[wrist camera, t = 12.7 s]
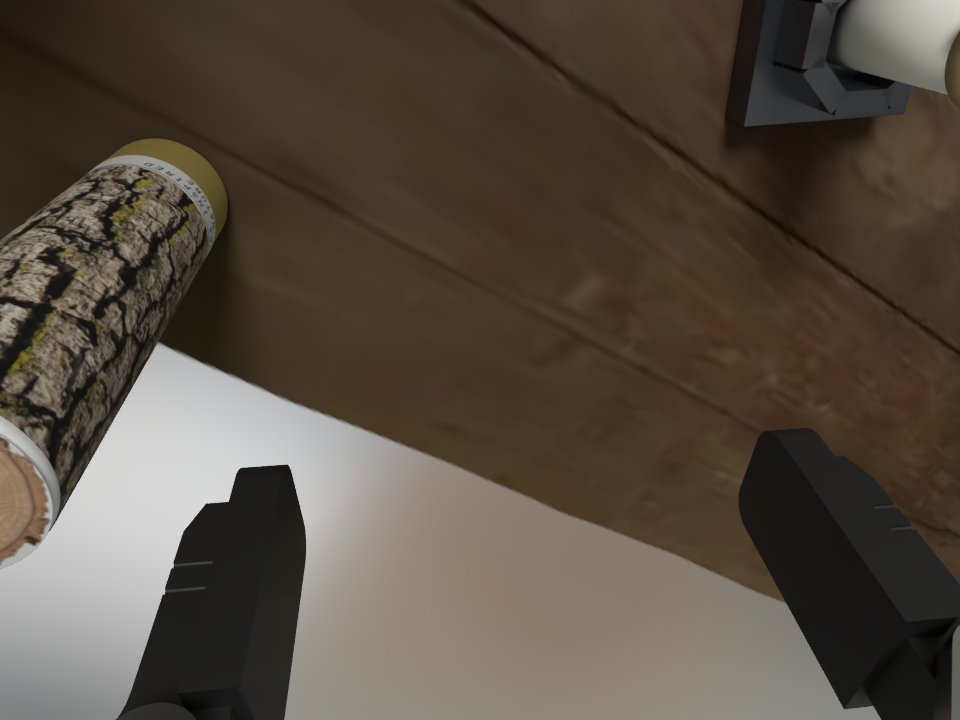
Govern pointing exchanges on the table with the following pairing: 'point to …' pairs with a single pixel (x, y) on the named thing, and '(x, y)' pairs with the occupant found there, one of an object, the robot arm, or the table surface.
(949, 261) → the table surface
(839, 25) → the white beige cylinder
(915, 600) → the robot arm
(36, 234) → the paper tube
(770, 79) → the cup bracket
